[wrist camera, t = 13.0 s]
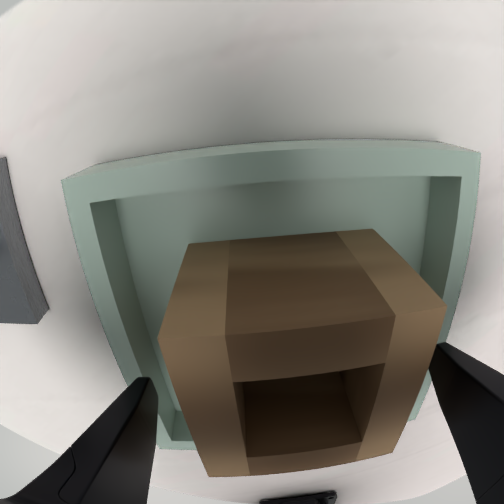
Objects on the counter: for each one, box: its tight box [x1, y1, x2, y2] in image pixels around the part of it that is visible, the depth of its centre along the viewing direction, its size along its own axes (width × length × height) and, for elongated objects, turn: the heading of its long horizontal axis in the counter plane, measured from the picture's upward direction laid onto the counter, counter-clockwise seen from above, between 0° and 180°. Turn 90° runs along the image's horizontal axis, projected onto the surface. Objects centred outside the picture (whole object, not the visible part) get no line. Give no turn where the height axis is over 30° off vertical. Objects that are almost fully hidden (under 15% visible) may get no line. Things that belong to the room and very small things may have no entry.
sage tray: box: [61, 139, 481, 450], centre depth 12 cm, size 13×13×2 cm
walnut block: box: [157, 229, 447, 477], centre depth 10 cm, size 6×6×5 cm
